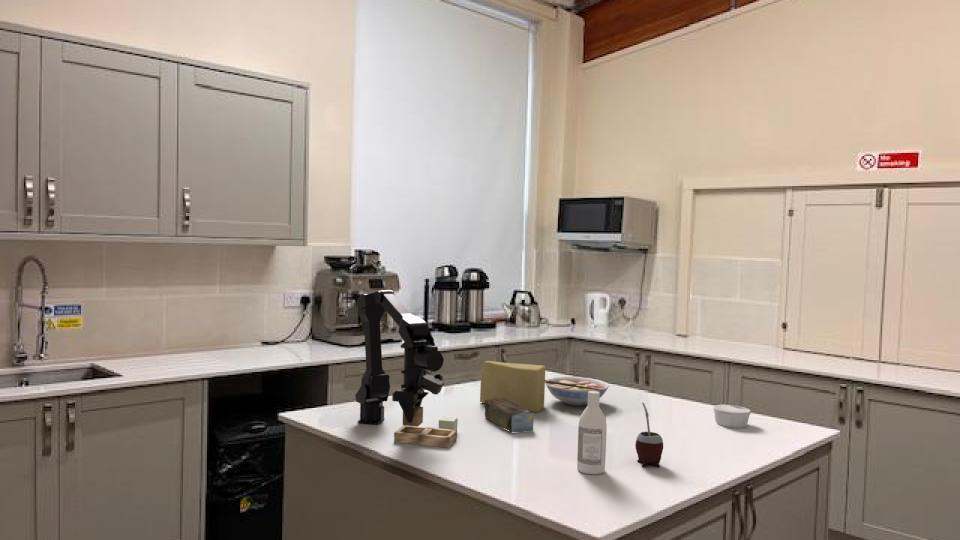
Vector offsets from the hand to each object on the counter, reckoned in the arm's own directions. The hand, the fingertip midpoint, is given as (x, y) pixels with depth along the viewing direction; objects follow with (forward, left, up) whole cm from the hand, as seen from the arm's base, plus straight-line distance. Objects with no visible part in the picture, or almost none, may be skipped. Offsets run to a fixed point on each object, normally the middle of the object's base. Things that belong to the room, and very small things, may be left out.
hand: (412, 420), depth 196 cm
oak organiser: (+4, 0, -6) cm, 7 cm away
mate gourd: (+65, -1, -6) cm, 65 cm away
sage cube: (+8, +9, -6) cm, 13 cm away
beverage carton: (+23, +25, -6) cm, 34 cm away
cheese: (+20, +48, -6) cm, 52 cm away
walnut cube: (0, 0, -1) cm, 1 cm away
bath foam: (+51, -11, -6) cm, 53 cm away
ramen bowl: (+41, +60, -6) cm, 73 cm away
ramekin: (+92, +49, -6) cm, 104 cm away
